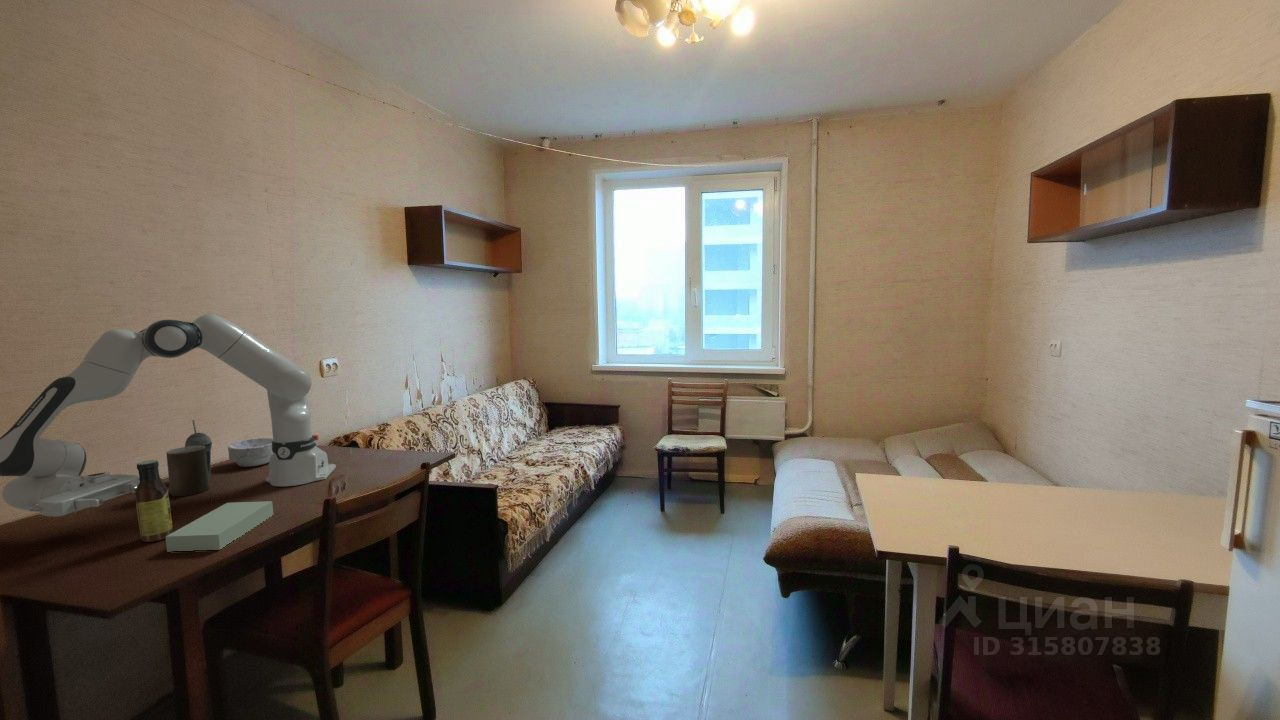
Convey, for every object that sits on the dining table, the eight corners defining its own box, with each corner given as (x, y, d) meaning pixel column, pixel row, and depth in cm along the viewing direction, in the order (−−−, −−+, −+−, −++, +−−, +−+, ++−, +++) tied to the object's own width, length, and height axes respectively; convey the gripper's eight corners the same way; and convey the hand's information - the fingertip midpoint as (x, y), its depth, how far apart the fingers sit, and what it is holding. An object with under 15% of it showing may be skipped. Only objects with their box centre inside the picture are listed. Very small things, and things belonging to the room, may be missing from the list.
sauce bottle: (178, 535, 141) (170, 460, 138) (148, 545, 135) (140, 467, 133) (164, 531, 143) (156, 457, 141) (134, 540, 138) (126, 463, 136)
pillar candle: (208, 492, 172) (204, 445, 171) (167, 499, 167) (163, 450, 165) (210, 484, 180) (206, 439, 179) (172, 490, 175) (167, 444, 173)
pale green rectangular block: (228, 516, 153) (227, 502, 152) (273, 514, 154) (272, 501, 153) (167, 552, 131) (165, 536, 131) (220, 550, 132) (218, 534, 131)
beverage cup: (200, 481, 183) (194, 423, 180) (182, 480, 184) (176, 422, 182) (220, 474, 190) (215, 418, 188) (203, 473, 191) (197, 417, 189)
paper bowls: (255, 470, 195) (254, 448, 194) (218, 468, 197) (216, 447, 196) (289, 458, 210) (287, 437, 209) (254, 456, 212) (253, 436, 211)
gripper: (20, 497, 130) (72, 498, 128) (111, 470, 150) (157, 471, 149) (24, 522, 130) (76, 524, 129) (114, 492, 151) (159, 493, 149)
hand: (120, 495), depth 139 cm, fingers open, 8 cm apart
